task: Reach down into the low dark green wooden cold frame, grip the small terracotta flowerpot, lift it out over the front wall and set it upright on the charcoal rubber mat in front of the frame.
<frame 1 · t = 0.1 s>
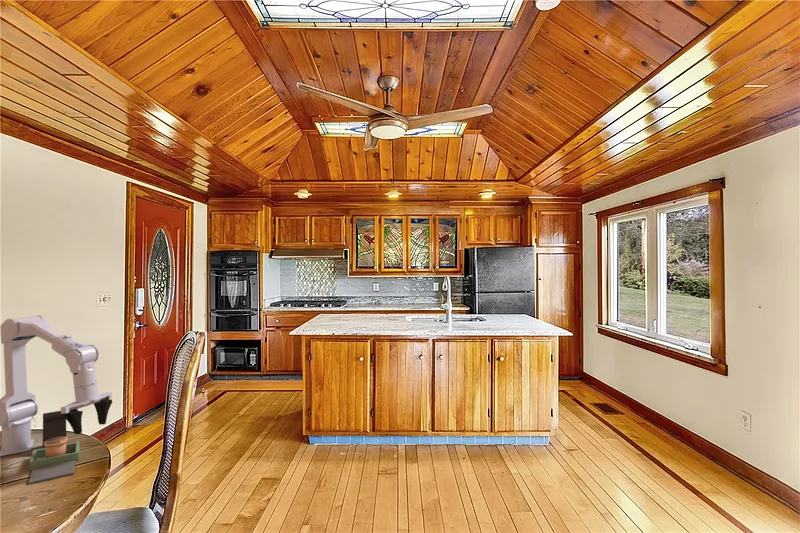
hand: (90, 428, 130), 11 cm above the table, tool pointing down, fingers open, 7 cm apart
cold frame: (55, 459, 131), on the table
terracotta pot: (55, 449, 131), in the cold frame
phone stand: (54, 448, 139), on the table
slate mat: (53, 472, 123), on the table
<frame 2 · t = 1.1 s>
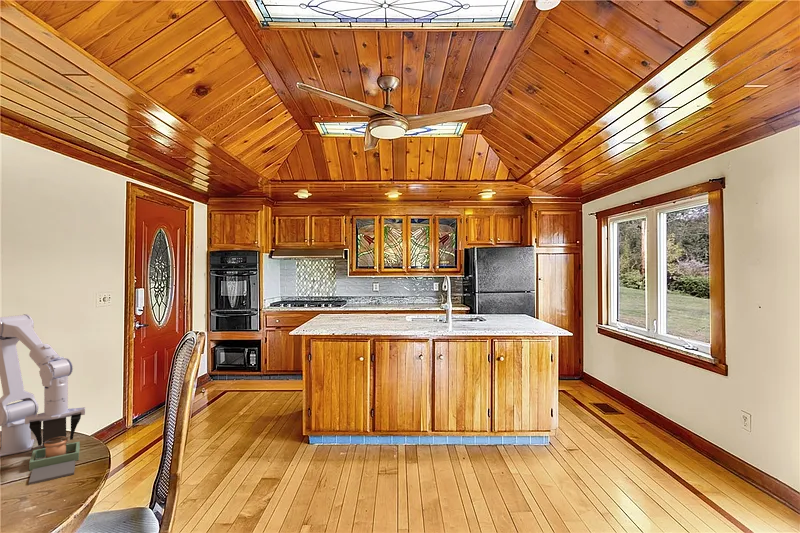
hand: (56, 441, 131), 6 cm above the table, tool pointing down, fingers open, 7 cm apart
nothing on the table moved.
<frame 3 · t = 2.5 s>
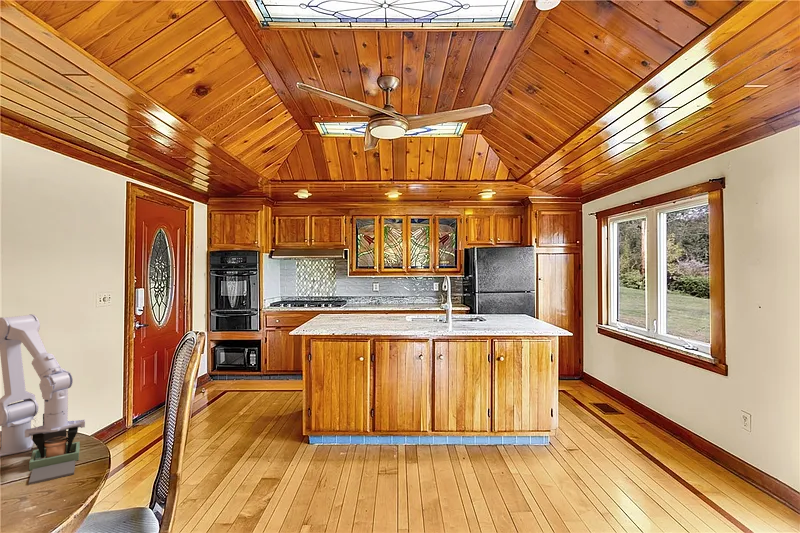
hand: (55, 454, 131), 2 cm above the table, tool pointing down, fingers closed on terracotta pot, 6 cm apart
terracotta pot: (55, 449, 131), in the cold frame, touching gripper
everything else where it was.
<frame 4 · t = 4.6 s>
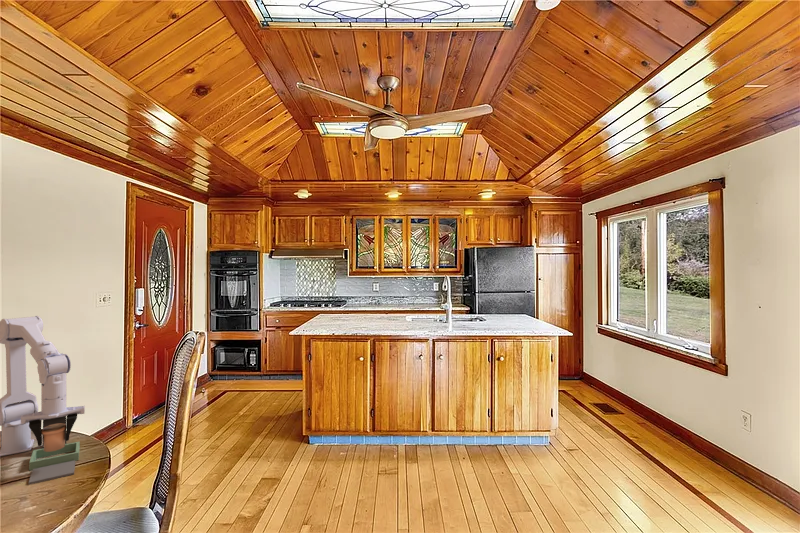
hand: (53, 442, 124), 9 cm above the table, tool pointing down, fingers closed on terracotta pot, 6 cm apart
terracotta pot: (54, 437, 124), point 10 cm above the table, touching gripper
everything else where it was.
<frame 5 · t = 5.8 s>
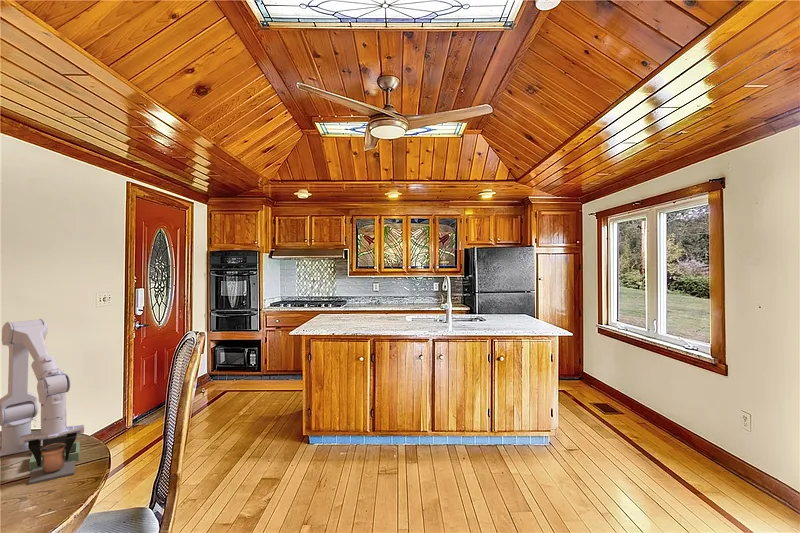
hand: (53, 462, 123), 3 cm above the table, tool pointing down, fingers closed on terracotta pot, 6 cm apart
terracotta pot: (53, 457, 123), point 4 cm above the table, touching gripper
everything else where it was.
when the fingers open (3 cm above the table, at t = 6.7 s): terracotta pot stays where it is, resting on slate mat.
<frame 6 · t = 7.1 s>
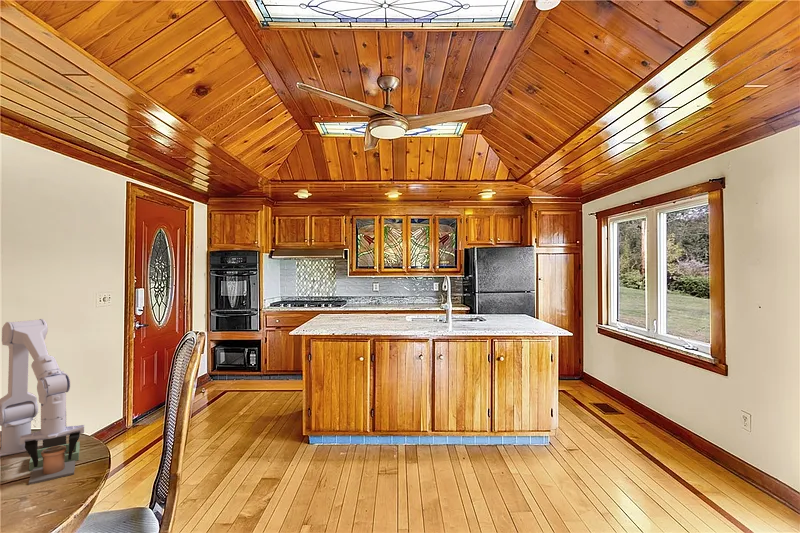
hand: (53, 462, 123), 3 cm above the table, tool pointing down, fingers open, 7 cm apart
terracotta pot: (53, 459, 123), on the slate mat, point 4 cm above the table
everything else where it was.
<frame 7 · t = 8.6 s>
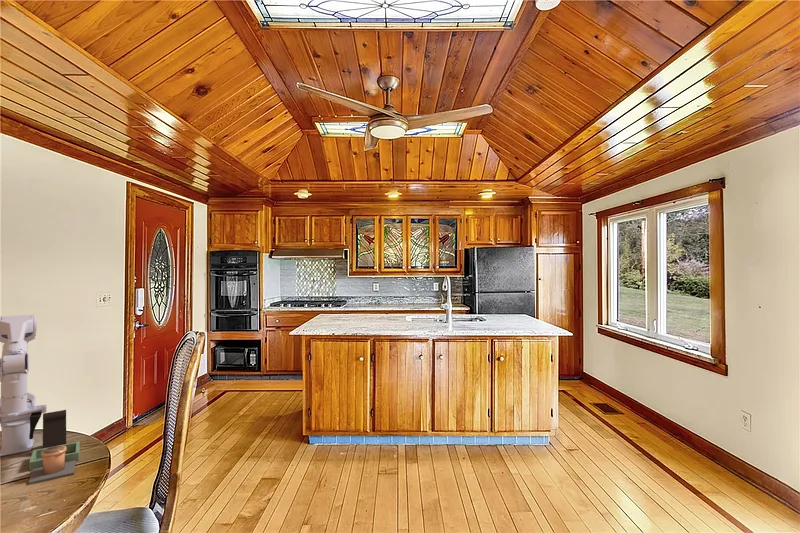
hand: (13, 441, 123), 9 cm above the table, tool pointing down, fingers open, 7 cm apart
nothing on the table moved.
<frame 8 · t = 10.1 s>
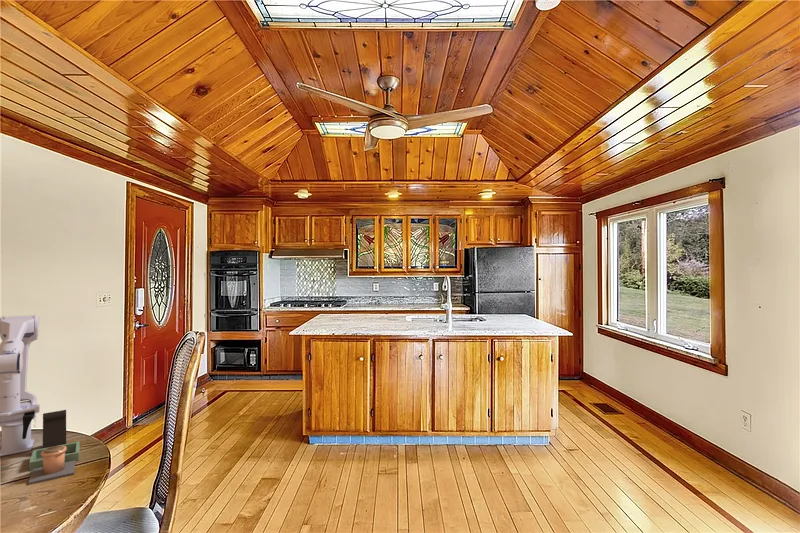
hand: (6, 441, 122), 9 cm above the table, tool pointing down, fingers open, 7 cm apart
nothing on the table moved.
at the end: terracotta pot 0.5 cm off-centre on the slate mat, point 3.7 cm above the slate mat's base; terracotta pot tilted 0°; the gripper is holding nothing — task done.
